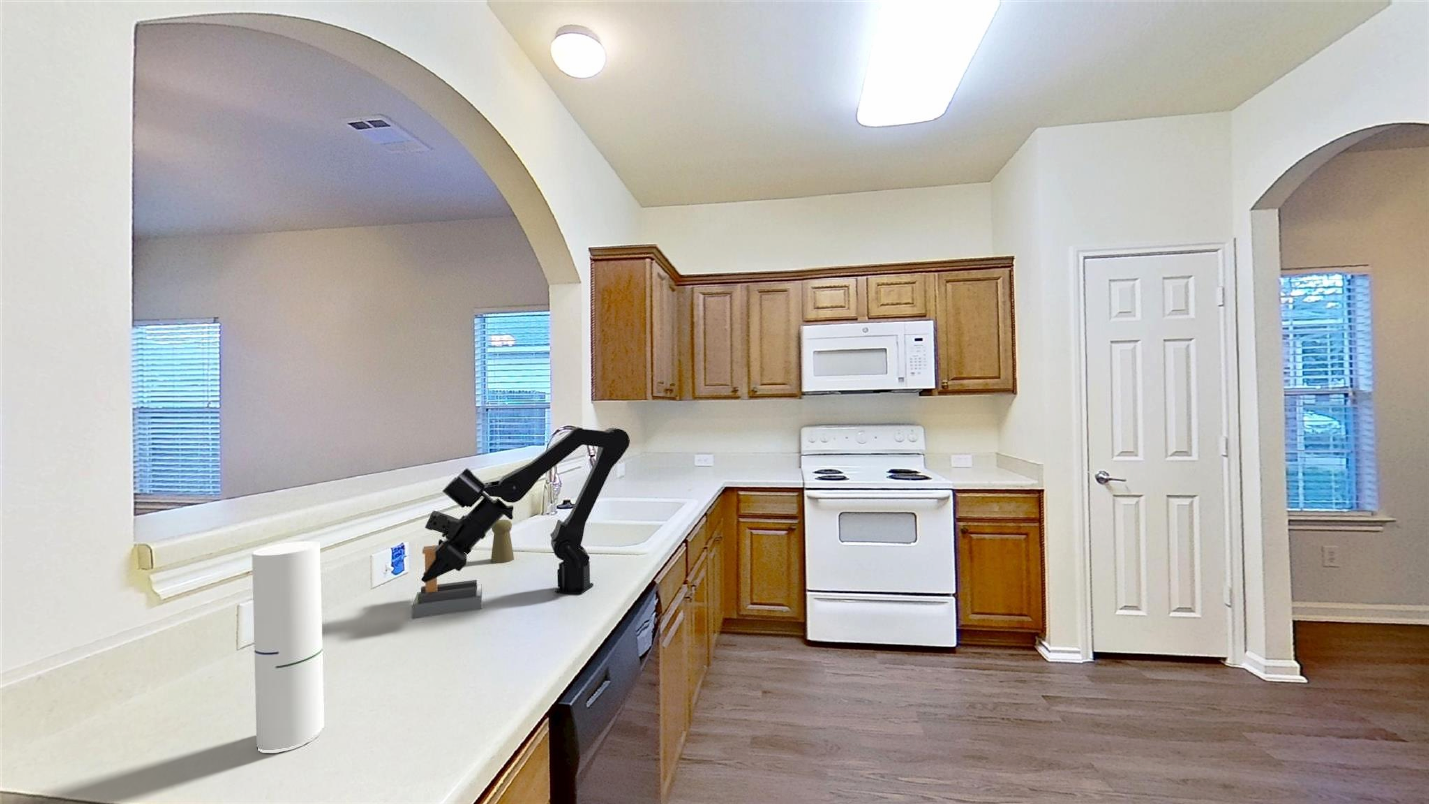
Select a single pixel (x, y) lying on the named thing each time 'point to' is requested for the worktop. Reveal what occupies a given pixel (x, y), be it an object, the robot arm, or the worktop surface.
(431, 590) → the handle
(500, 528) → the cork
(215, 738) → the worktop surface
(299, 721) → the cylindrical container
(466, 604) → the grey slotted base
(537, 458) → the robot arm
